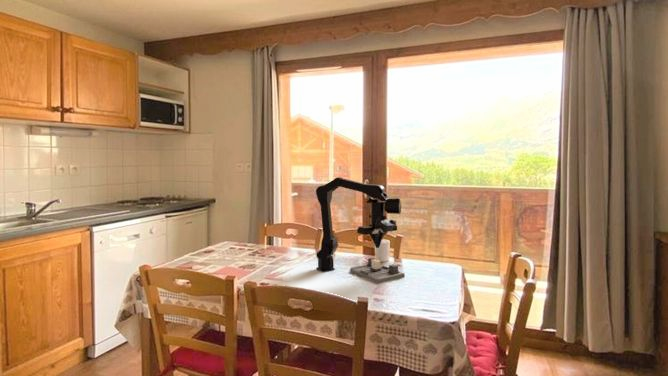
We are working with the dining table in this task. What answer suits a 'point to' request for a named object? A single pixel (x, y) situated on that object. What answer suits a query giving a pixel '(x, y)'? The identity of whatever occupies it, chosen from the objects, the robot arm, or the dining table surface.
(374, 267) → the breaker
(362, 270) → the breaker panel
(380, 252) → the white cup
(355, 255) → the dining table surface
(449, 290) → the dining table surface
